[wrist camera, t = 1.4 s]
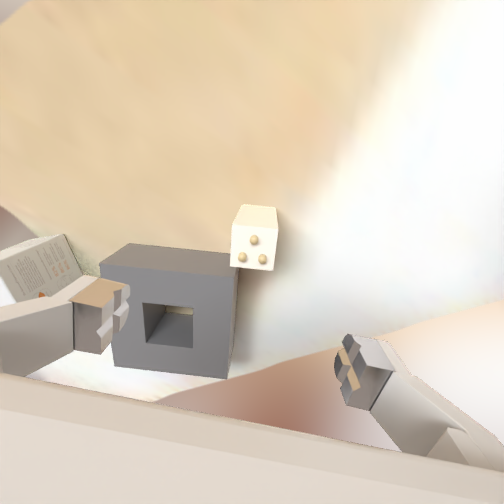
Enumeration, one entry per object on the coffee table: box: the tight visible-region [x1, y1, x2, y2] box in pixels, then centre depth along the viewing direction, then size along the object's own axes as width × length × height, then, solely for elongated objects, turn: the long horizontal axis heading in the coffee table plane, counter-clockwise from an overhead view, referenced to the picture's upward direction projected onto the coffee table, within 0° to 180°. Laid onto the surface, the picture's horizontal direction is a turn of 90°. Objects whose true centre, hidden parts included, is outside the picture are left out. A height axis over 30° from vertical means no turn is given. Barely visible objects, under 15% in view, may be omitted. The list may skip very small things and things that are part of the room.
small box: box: [0, 234, 83, 307], centre depth 34 cm, size 8×6×10 cm
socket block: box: [99, 243, 239, 379], centre depth 36 cm, size 16×16×7 cm
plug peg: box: [230, 204, 278, 271], centre depth 29 cm, size 4×4×11 cm
